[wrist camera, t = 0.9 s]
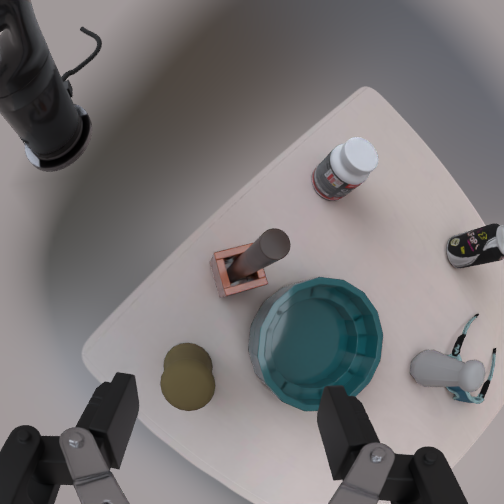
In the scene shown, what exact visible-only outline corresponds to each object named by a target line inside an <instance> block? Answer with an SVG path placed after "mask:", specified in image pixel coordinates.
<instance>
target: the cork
mask: <svg viewBox="0 0 504 504" xmlns="http://www.w3.org/2000/svg"><path fill="white" fill-rule="evenodd" d="M212 368H213V367H212V361H211V358H210V356H209V354H208V353H207V352H206V351H205V350H204V349H203V348H202V347H200V346H198V345H196V344H191V343H183V344H179V345H177V346H174V347H173V348H172V349H171V350H170V351H169V352H168V353H167V355H166V357H165V360H164V372H163V374H162V376H161V383H160V385H161V390H162V393H163V395H164V397H165V399H166V400H167V401H168V402H169V403H170V404H171V405H172V406H174V407H176V408H178V409H180V410H185V411H192V410H198V409H200V408H202V407H204V406H205V405H206V404H207V403H208V402H209V401H210V400H211V398H212V396H213V395H214V391H215V381H214V377H213V375H212Z"/></svg>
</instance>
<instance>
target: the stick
mask: <svg viewBox="0 0 504 504" xmlns="http://www.w3.org/2000/svg"><path fill="white" fill-rule="evenodd" d="M289 250H290V240H289V238H288V236H287V235H286V233H284V232H283V231H282V230H279V229H269V230H267V231H265V232H264V233H263V234H262V235H261V236H260V237H259V238H258V239H257V240H256V241H255V242H254V243H253V244H252V245H251V246H250V247H249V248H248V249H247V250H246V251H245V252H244V253H243V254H242V255H241V256H240V257H239V258H238V259H237V260H235V261H234V262H233V263H232V264H231V265H230V266H229V267H228V268H227V269H226V270H227V274H228V277H229V281H230V282H231V283H235V282H237V281H239V280H241V279H243V278H245V277H247V276H249V275H251V274H253V273H255V272H257V271H259V270H261V269H263V268H265V267H266V266H268V265H270V264H272V263H274V262H276V261H278V260H280V259H282V258H284V257H285V256H286V255H287V254H288V252H289Z"/></svg>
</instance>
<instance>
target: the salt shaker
mask: <svg viewBox="0 0 504 504" xmlns="http://www.w3.org/2000/svg"><path fill="white" fill-rule="evenodd" d="M410 374H411V375H412V376H413V377H414V378H415V380H416V382H417V383H418V384H420V385H422V386H424V387H451V386H460V388H461V389H462V390H464V391H466V392H473V391H476V390H477V389H478V388H479V387H480V386H481V385H482V383H483V381H484V377H485V368H484V365H483V363H482V362H480V361H478V360H470V361H467V362H466V363H464V362H462V361H459V360H457V359H454V358H452V357H449V356H447V355H445V354H443V353H440V352H438V351H436V350H425V351H423V352H421V353H420V354H418V355H417V356H416V357H415V358H414V359H413V361H412V362H411V370H410Z"/></svg>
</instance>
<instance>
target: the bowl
mask: <svg viewBox="0 0 504 504" xmlns="http://www.w3.org/2000/svg"><path fill="white" fill-rule="evenodd" d="M382 341H383V332H382V328H381V324H380V320H379V316H378V312H377V310H376V309H375V307H374V306H373V305H372V303H371V302H370V300H369V299H368V298H367V296H366V295H365V293H364V292H363V291H361V290H359V289H358V288H356V287H354V286H353V285H351V284H349V283H348V282H346V281H345V280H340V279H332V278H324V277H318V278H313V279H309V280H305V281H301V282H298V283H295V284H291V285H288V286H285V287H282V288H280V289H279V290H278V291H277V292H276V293H274V294H273V295H272V296H271V297H270V298H268V299H267V300H266V301H265V302H264V303H263V304H262V306H261V307H260V309H259V311H258V313H257V315H256V317H255V319H254V320H253V322H252V324H251V329H250V338H249V347H248V350H249V354H250V357H251V361H252V364H253V367H254V371H255V373H256V375H257V376H258V377H259V378H260V379H261V380H262V381H263V383H264V384H265V385H266V386H267V387H268V388H269V389H270V390H271V391H272V392H273V393H274V394H275V395H276V396H277V397H278V398H279V399H280V400H281V401H282V402H284V403H286V404H289V405H291V406H293V407H296V408H298V409H301V410H303V411H318V408H319V405H320V401H321V397H322V394H323V390H324V387H325V386H335V385H343V386H344V388H345V391H346V393H347V395H348V396H355V397H356V396H357V395H358V394H359V393H360V392H361V391H362V390H363V389H364V388H365V387H366V386H367V385H368V384H369V382H370V381H371V379H372V377H373V375H374V373H375V371H376V368H377V366H378V364H379V362H380V359H381V351H382Z"/></svg>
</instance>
